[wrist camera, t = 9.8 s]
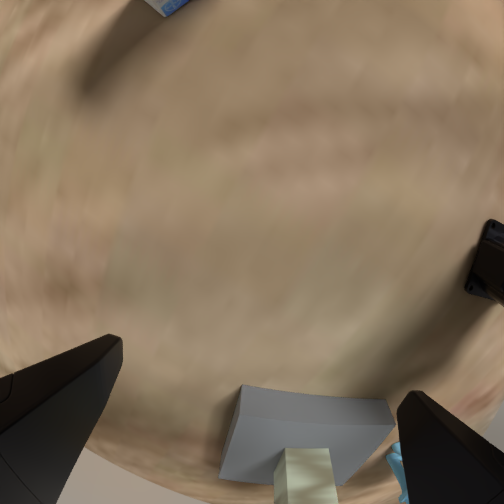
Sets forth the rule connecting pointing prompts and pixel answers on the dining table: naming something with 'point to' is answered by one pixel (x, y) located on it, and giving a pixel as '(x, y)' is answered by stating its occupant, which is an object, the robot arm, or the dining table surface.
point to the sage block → (304, 477)
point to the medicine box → (166, 5)
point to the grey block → (301, 432)
